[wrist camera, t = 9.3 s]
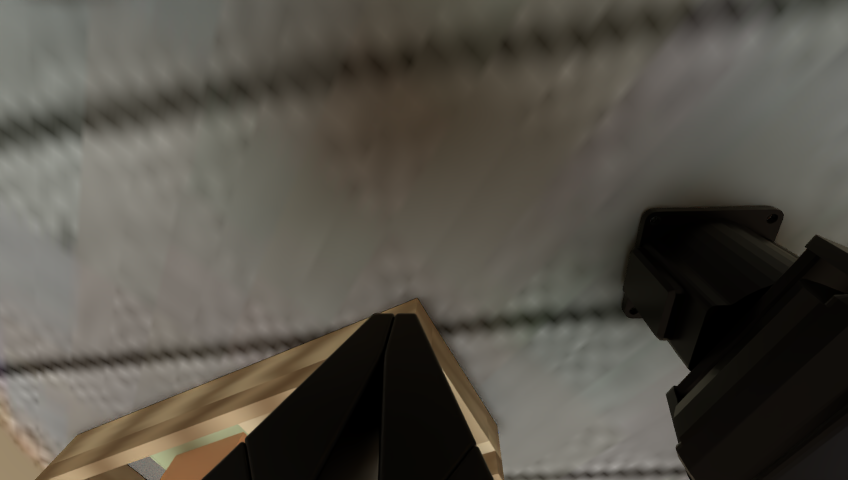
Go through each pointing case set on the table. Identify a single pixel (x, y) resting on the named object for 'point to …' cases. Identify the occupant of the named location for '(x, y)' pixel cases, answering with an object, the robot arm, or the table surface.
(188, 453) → the terracotta block
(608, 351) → the table surface
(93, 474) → the wooden compartment tray
